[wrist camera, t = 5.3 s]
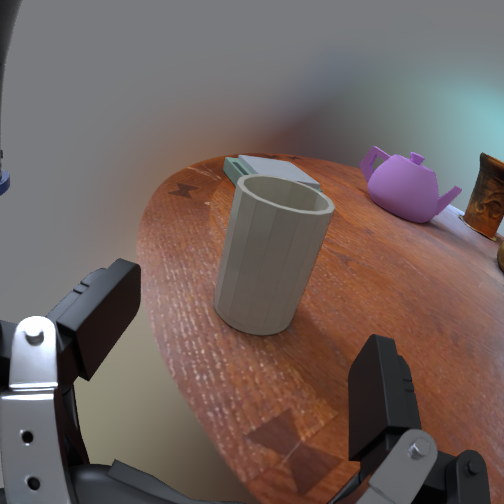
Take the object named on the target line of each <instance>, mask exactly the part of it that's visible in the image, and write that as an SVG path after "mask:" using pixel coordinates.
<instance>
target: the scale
mask: <svg viewBox="0 0 504 504" xmlns="http://www.w3.org/2000/svg"><path fill="white" fill-rule="evenodd" d="M223 171H224V172H225V173H226V175H227V176H228V177H229V179H230V180H231V181H232V183H233V184H234V185H235V186H236V185H237V182H238V179H239V178H240V177H242V176H245V175H251V174H264V175H272V176H278V177H282V178H286V179H290V180H294V181H297V182H299V183H302V184H305V185H308V186H310V187H312V188H314V189H316V190H318V191H320V192H321V193H322V192H323V191H322V190H321V189H320V184H319V183H318V182H317V181H315V180H314V179H312V178H311V177H310V176H308V175H307V174H306V173H304V172H303V171H301V170H300V169H299V168H297V167H296V166H294V165H293V164H292V163H290V162H286V161H280V160H273V159H267V158H260V157H252V156H245V155H239V157H238V158H229V157H226V158H225V163H224V168H223Z"/></svg>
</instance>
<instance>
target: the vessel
mask: <svg viewBox="0 0 504 504" xmlns="http://www.w3.org/2000/svg"><path fill="white" fill-rule="evenodd" d="M503 216H504V163H503V162H501V161H500V160H498V159H496V158H493V157H491V156H489V155H486V154H485V153H483V152H482V153H481V155H480V171H479V174H478V178H477V181H476V184H475V187H474V189H473V192H472V194H471V198H470V201H469V204H468V207H467V209H466V212H465V215H464V216H462V215H459V217H460V218H461V219H462V221H463V220H464V223H465V224H466V225H467V226H468V227H471V228H472V229H474V230H476V231H478V232H480V233H482V234H484V235H486V236H487V237H488V238H490V239H491V240H494V241H496V240H497V239H496V238H495V236H494V235H495V234H496V231H497V229H498V227H499V225H500V223H501V221H502V219H503Z"/></svg>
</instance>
